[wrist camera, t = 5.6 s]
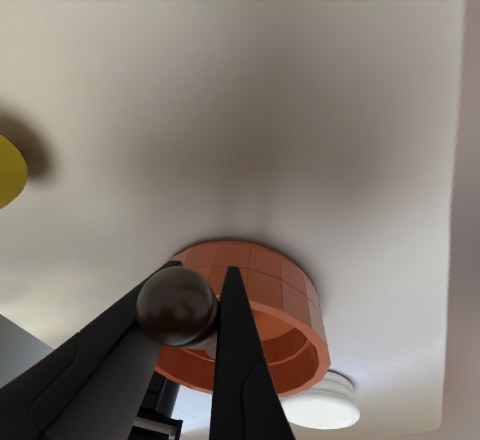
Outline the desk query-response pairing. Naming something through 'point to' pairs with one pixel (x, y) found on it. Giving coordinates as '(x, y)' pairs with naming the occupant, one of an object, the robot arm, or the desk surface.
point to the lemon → (11, 172)
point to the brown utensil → (179, 310)
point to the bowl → (259, 318)
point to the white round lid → (323, 404)
